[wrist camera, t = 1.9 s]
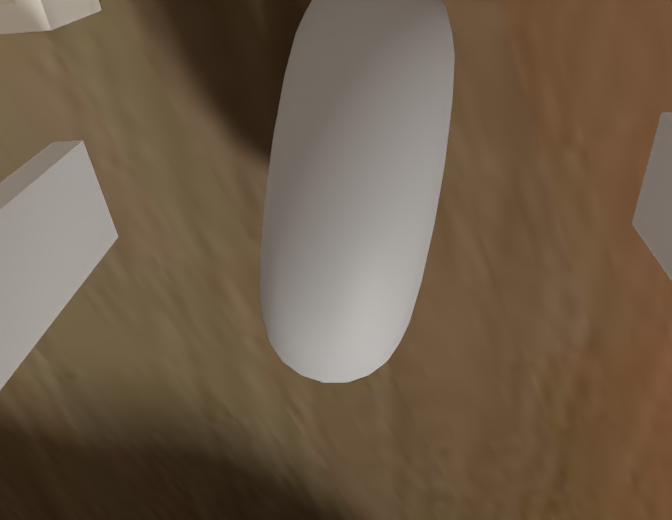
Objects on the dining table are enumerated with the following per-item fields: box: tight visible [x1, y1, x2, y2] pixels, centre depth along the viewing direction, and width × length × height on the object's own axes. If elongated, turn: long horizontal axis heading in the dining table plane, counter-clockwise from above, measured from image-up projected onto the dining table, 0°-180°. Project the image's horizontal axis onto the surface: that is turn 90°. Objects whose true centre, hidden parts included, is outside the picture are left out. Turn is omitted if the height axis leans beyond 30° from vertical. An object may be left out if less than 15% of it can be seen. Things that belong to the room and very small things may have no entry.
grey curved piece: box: [260, 0, 455, 383], centre depth 14 cm, size 10×3×10 cm, turn 173°
